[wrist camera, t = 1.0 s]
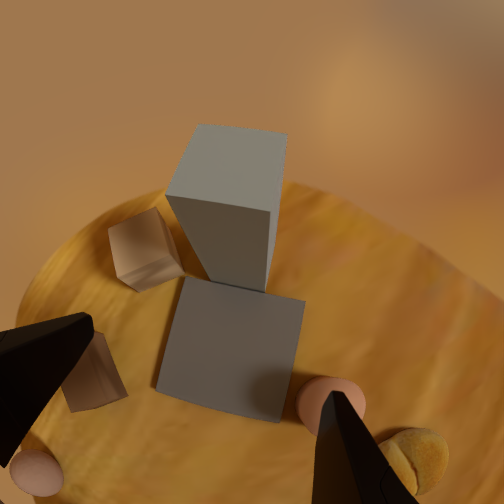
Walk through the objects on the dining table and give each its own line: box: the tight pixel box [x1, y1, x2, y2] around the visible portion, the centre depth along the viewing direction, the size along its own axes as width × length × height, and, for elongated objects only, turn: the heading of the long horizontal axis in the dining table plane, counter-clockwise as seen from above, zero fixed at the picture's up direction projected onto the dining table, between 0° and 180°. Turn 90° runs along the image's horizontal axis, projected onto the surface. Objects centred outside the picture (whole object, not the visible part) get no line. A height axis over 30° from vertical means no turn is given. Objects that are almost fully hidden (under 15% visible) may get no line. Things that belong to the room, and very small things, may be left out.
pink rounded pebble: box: [295, 376, 366, 436], centre depth 17 cm, size 4×4×4 cm
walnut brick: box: [61, 332, 128, 413], centre depth 18 cm, size 6×4×4 cm, turn 29°
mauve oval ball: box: [10, 449, 64, 497], centre depth 12 cm, size 5×5×7 cm
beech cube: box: [108, 207, 185, 293], centre depth 22 cm, size 4×4×4 cm
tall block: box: [165, 124, 287, 293], centre depth 18 cm, size 4×4×13 cm
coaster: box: [155, 276, 306, 423], centre depth 21 cm, size 10×10×1 cm
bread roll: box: [378, 428, 449, 496], centre depth 14 cm, size 8×9×4 cm
